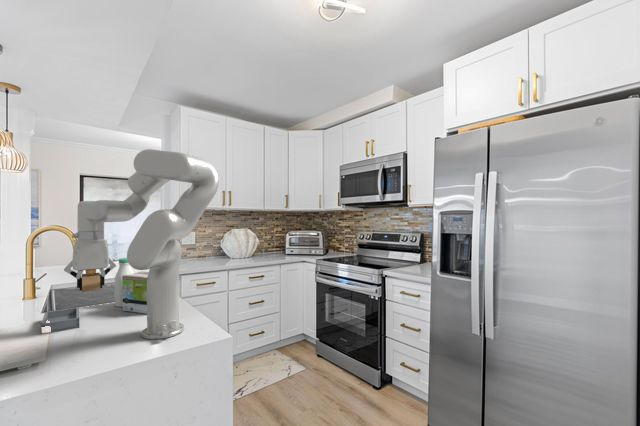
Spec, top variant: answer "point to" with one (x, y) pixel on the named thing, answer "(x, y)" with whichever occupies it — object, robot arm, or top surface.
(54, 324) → the tray
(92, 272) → the ball
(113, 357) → the top surface
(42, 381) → the top surface
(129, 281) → the tea box
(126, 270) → the milk bottle
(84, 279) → the brown wooden cube
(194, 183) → the robot arm
